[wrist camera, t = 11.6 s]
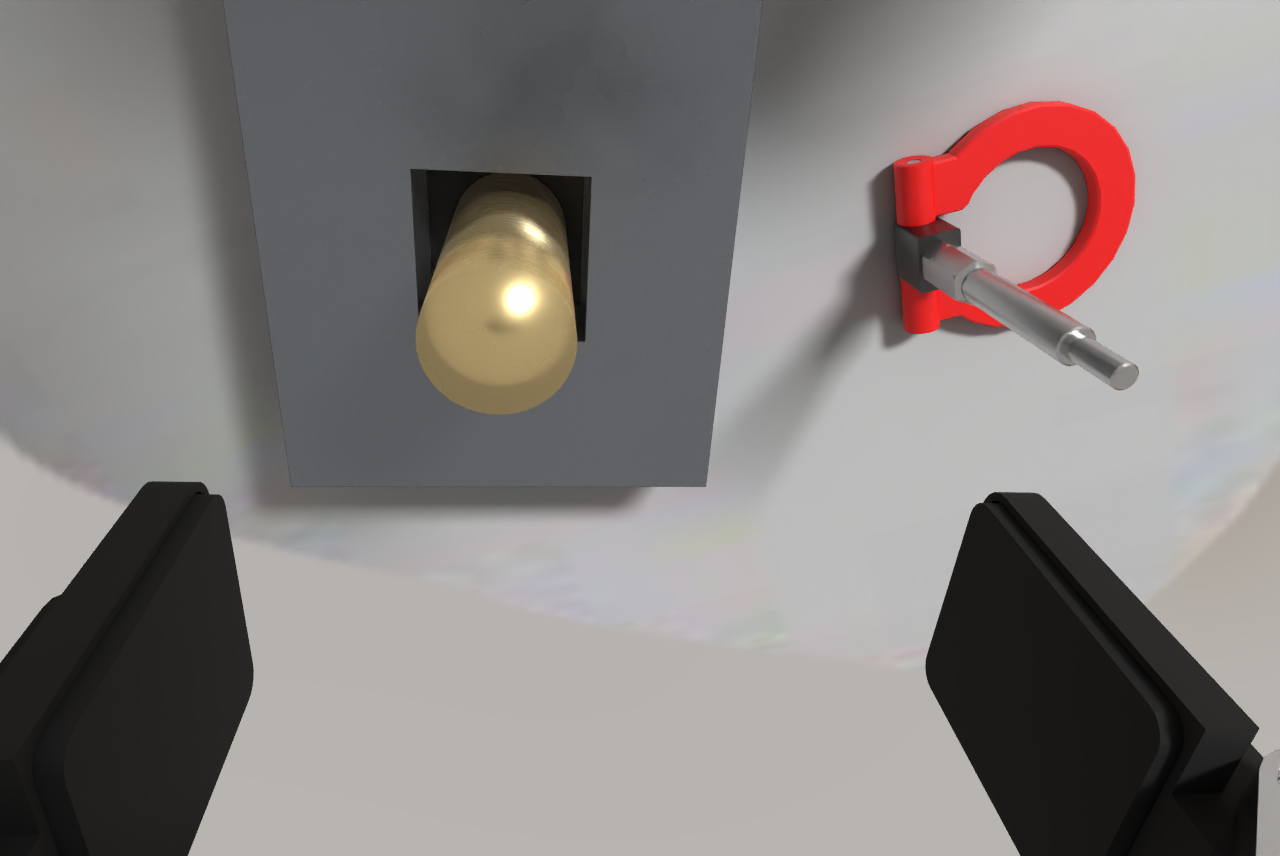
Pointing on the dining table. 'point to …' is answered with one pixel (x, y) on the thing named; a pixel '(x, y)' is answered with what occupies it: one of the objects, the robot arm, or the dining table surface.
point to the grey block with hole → (501, 143)
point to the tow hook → (969, 285)
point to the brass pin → (500, 299)
